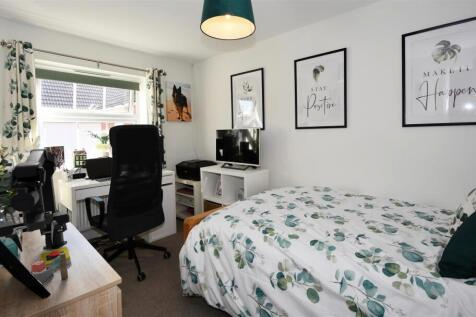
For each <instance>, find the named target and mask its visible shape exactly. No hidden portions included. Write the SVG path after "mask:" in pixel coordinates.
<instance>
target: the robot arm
mask: <svg viewBox="0 0 476 317" xmlns="http://www.w3.org/2000/svg"><path fill="white" fill-rule="evenodd" d="M57 167H58V159H57V157H56V155H55V154H53V153H51V152H49V151H48V149H47V148H35V149H34V148H33V149H30V151H29V154H28V157H27V158H26V160H25V161H23V162H21V163H18V164H16V165H15V166H14V168H13V169H11V179H10V190H17V191H16V193H15V194H14V195H13V196H12V197H11V198H10V201H9V204H10V206H11V208H12V209H13V210H14V211H15V212H19V213H20V212H21V215H22V222H17V223H16V222H15V223H14V221H13V220H12V221H11V220H10V221H5V222H0V238H2V237H4V239H10V240H12V241H13V243H14V244H15V245H16V247H17V248H18V249H19V251H20V252H21V253H23V246H22V242H21V239H20V236H19V234H18V230H22V229H25V228H26V231H27V232H28V233H32V232H35V231H38V230H39V232H40V236H41V237H42V236H44V237H45V238H44V243H45V245H44V246H43V247H42V249H46V250H47V249H50V250H55V249H59V248H61V247H63V245H65V244H67V243H68V241H67V240H65V239H64V233H65V232H66V231H68V225H67V223H69V222H71V221H70V215H69V213H68V212H67V211H66V210H61V211H59V210H58V209H57V203H56V195H55V187H54V186H55V185H54V178H53V177H54V174H55V173H56V170H57Z"/></svg>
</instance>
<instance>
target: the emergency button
mask: <svg viewBox="0 0 476 317" xmlns="http://www.w3.org/2000/svg"><path fill="white" fill-rule="evenodd" d="M60 253H66V262H67V268H68V267H71V266H72V265H73V264H72V263H73V262H72V260H71V255H70V251H69V249H68V247H67V246H64V247H63V246H62V247H59V248H57V249H50V250H47V251H44V252H41V253H40V255H39V257H40V260H39V261H45V264H46V266H50V267H52V261H53V260H54V259H56V258H57V257H58V256H59V254H60ZM59 270H60V265H59V266H57V267H56V268H55V269H53V272H54V271H59Z"/></svg>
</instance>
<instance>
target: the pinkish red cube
mask: <svg viewBox="0 0 476 317" xmlns="http://www.w3.org/2000/svg"><path fill="white" fill-rule="evenodd" d="M31 269H32V270H31V271H32V273H33V275H41V274H42V273H44V272H45V271H46V264H45V261H40V260H37V261H35V262H34V263H32V264H31Z"/></svg>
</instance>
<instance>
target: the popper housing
mask: <svg viewBox="0 0 476 317" xmlns="http://www.w3.org/2000/svg"><path fill="white" fill-rule="evenodd" d="M30 272H31V273H32V270H31V271H30ZM32 274H33V273H32ZM54 276H55V275H54V271H53V269H52V267H50V266H46V271H45V272H44V273H42V274H41V275H34V277H35V278H36V279H37V280H39V281H40V282H41V283H42V284H43V285H44V284H45V283H47V282H48V281H49V280H51V279H52V278H53V277H54Z"/></svg>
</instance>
